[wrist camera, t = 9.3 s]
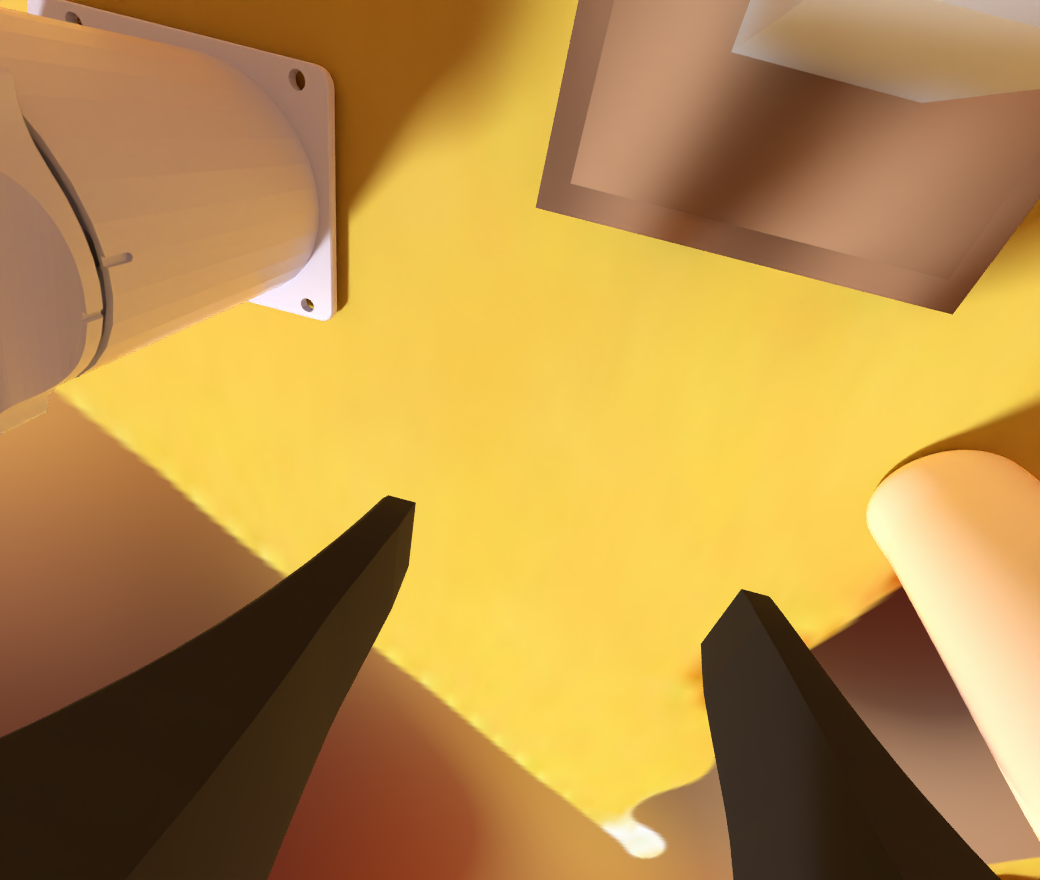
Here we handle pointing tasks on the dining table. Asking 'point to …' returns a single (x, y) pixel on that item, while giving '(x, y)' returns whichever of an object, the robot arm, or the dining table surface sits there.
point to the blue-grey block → (901, 44)
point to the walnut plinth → (783, 156)
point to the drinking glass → (975, 591)
